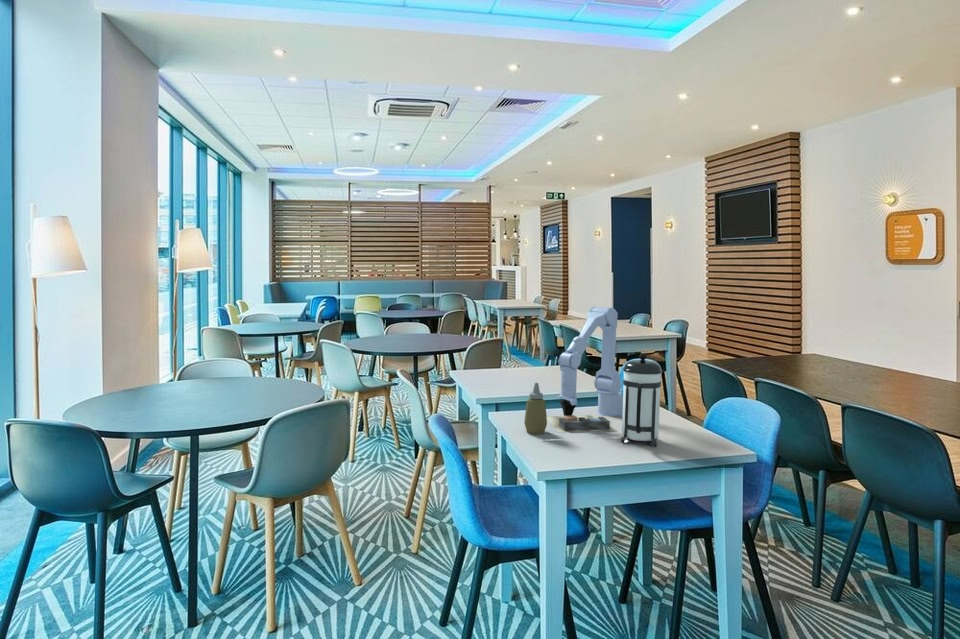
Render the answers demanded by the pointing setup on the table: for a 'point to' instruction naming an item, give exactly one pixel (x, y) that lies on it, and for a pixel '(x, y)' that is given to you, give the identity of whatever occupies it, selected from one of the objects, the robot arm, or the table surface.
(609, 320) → the robot arm
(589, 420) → the slate-blue plug
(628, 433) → the coffee press
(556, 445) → the table surface
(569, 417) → the peach square block
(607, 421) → the comb board
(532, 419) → the squeeze bottle
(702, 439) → the table surface
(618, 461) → the table surface
